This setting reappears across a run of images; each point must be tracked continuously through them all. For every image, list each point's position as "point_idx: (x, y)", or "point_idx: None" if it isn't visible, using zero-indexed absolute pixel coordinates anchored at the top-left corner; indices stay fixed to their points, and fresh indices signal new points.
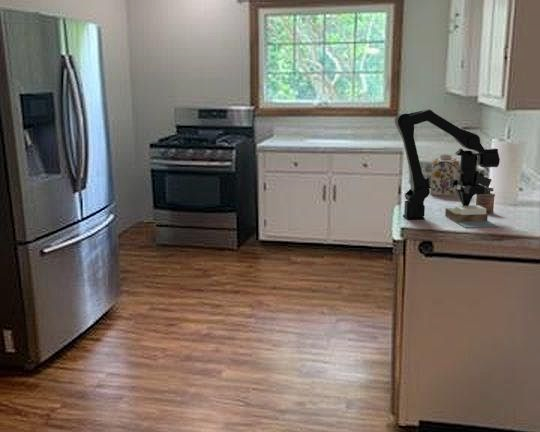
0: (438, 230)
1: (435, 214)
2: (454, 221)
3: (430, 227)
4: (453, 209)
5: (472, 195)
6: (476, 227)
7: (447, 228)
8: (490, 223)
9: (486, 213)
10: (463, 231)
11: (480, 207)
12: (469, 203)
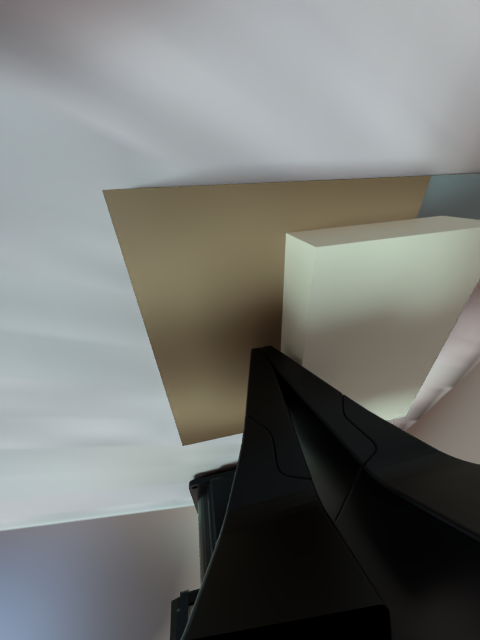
0: (403, 426)
1: (138, 433)
2: None
3: None
4: (216, 412)
5: (460, 473)
6: None
7: None
8: (450, 196)
9: (423, 194)
10: (458, 367)
11: (426, 271)
12: (313, 374)
